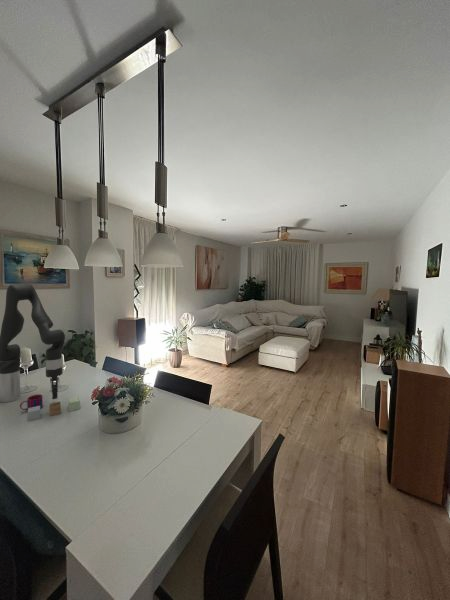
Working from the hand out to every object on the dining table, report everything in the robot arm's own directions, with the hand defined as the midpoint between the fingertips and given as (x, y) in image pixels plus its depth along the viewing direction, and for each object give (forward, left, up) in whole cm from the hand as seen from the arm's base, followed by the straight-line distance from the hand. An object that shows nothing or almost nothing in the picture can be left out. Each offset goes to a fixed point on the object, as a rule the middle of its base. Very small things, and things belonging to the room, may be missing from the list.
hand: (54, 395), depth 131 cm
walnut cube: (0, 0, -10) cm, 10 cm away
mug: (-15, -5, -10) cm, 18 cm away
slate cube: (-4, -8, -10) cm, 14 cm away
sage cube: (+4, +8, -10) cm, 14 cm away
